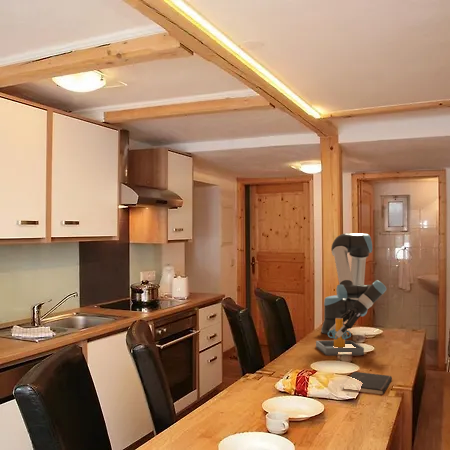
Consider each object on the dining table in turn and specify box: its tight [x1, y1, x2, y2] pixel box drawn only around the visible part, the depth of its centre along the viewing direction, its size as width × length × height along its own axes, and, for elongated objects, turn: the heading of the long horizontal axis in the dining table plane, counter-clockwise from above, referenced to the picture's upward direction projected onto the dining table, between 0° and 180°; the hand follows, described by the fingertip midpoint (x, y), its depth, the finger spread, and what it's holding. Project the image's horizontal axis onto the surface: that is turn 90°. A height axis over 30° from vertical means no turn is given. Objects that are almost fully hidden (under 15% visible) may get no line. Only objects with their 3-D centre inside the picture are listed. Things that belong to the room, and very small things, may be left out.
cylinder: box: [327, 318, 352, 348], centre depth 280 cm, size 12×10×15 cm
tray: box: [315, 339, 365, 356], centre depth 280 cm, size 20×20×4 cm
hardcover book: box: [349, 371, 393, 395], centre depth 216 cm, size 16×23×2 cm
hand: (333, 334), depth 280 cm, fingers closed on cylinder, 11 cm apart
